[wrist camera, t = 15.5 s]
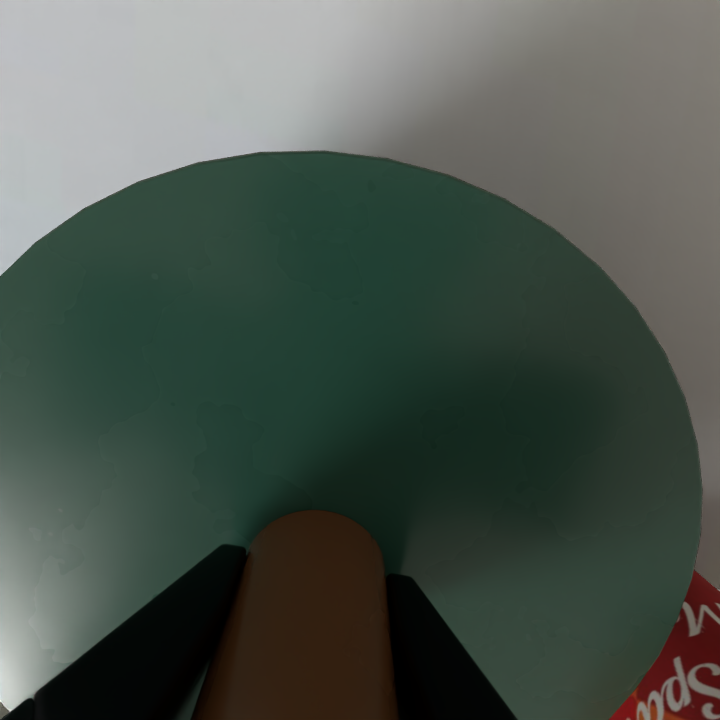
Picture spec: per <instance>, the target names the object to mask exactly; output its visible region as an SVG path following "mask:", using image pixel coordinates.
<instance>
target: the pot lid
mask: <svg viewBox="0 0 720 720" xmlns="http://www.w3.org/2000/svg"><path fill="white" fill-rule="evenodd" d="M702 495H703V488H702V479H701V470H700V461H699V451H698V443H697V440H696V436H695V432H694V429H693V425H692V421H691V417H690V414H689V410H688V406H687V403H686V399H685V396H684V394H683V392H682V390H681V387H680V385H679V383H678V381H677V378H676V376H675V374H674V372H673V369H672V367H671V365H670V363H669V360H668V358H667V356H666V354H665V352H664V350H663V348H662V347H661V345H660V344H659V342H658V341H657V339H656V338H655V336H654V334H653V333H652V331H651V330H650V328H649V327H648V325H647V324H646V322H645V321H644V319H643V317H642V316H641V314H640V313H639V311H638V310H637V308H636V307H635V306H634V304H633V303H632V302H631V301H630V300H629V299H628V298H627V297H626V295H625V294H624V293H623V292H622V291H621V290H620V289H619V288H618V286H617V285H616V284H615V283H614V282H613V281H612V280H611V279H610V277H609V276H608V275H607V274H606V273H605V272H604V271H603V270H602V268H601V267H600V266H599V265H598V264H596V263H595V262H594V261H593V260H592V259H590V258H589V257H588V256H587V255H586V254H584V253H583V252H582V251H581V250H580V249H578V248H577V247H576V246H575V245H574V244H572V243H571V242H570V241H569V240H568V239H566V238H565V237H564V236H563V235H562V234H560V233H559V232H558V231H557V230H556V229H554V228H552V227H551V226H549V225H547V224H546V223H544V222H542V221H541V220H539V219H538V218H536V217H534V216H533V215H531V214H529V213H528V212H526V211H524V210H523V209H521V208H519V207H518V206H516V205H515V204H513V203H511V202H510V201H508V200H506V199H505V198H502V197H500V196H498V195H495V194H493V193H491V192H488V191H486V190H484V189H481V188H479V187H477V186H474V185H472V184H470V183H467V182H465V181H463V180H460V179H458V178H456V177H453V176H451V175H448V174H445V173H441V172H437V171H434V170H430V169H426V168H422V167H419V166H415V165H411V164H407V163H404V162H400V161H396V160H392V159H389V158H382V157H373V156H365V155H357V154H348V153H340V152H332V151H283V152H257V153H251V154H245V155H239V156H233V157H227V158H221V159H215V160H209V161H203V162H197V163H194V164H191V165H188V166H185V167H182V168H179V169H176V170H172V171H169V172H166V173H163V174H160V175H157V176H154V177H151V178H148V179H144V180H141V181H138V182H136V183H134V184H132V185H130V186H128V187H126V188H124V189H122V190H120V191H118V192H116V193H114V194H112V195H110V196H108V197H106V198H104V199H102V200H100V201H98V202H96V203H94V204H92V205H90V206H88V207H86V208H84V209H82V210H81V211H79V212H78V213H77V214H75V215H74V216H72V217H71V218H69V219H68V220H67V221H65V222H64V223H62V224H61V225H59V226H58V227H57V228H55V229H54V230H52V231H51V232H49V233H48V234H47V235H45V236H44V237H42V238H41V239H39V240H38V241H37V242H35V243H34V244H33V245H32V246H31V247H30V248H29V249H28V250H27V251H26V252H25V253H24V254H23V255H22V256H21V257H20V258H19V259H18V260H17V261H16V262H15V263H14V264H13V265H12V266H11V267H9V268H8V269H7V270H6V271H5V272H4V273H3V274H2V275H1V276H0V702H1V703H2V704H3V705H4V706H5V707H6V709H7V710H8V711H9V712H11V711H12V710H13V709H14V708H16V707H17V706H18V705H19V704H21V703H22V702H23V701H24V700H26V699H27V698H32V699H33V696H34V693H35V692H36V691H37V690H39V689H40V688H41V687H42V686H44V685H45V684H46V683H47V682H49V681H50V680H51V679H53V678H54V677H55V676H56V675H58V674H59V673H60V672H61V671H63V670H64V669H65V668H66V667H68V666H69V665H70V664H71V663H73V662H74V661H75V660H76V659H78V658H79V657H80V656H81V655H83V654H84V653H85V652H86V651H88V650H89V649H90V648H91V647H93V646H94V645H95V644H97V643H98V642H99V641H100V640H102V639H103V638H104V637H105V636H107V635H108V634H109V633H110V632H112V631H113V630H114V629H115V628H117V627H118V626H119V625H120V624H122V623H123V622H124V621H125V620H127V619H128V618H129V617H130V616H132V615H133V614H134V613H136V612H137V611H138V610H139V609H141V608H142V607H143V606H144V605H146V604H147V603H148V602H149V601H151V600H152V599H153V598H154V597H156V596H157V595H158V594H159V593H161V592H162V591H163V590H164V589H166V588H167V587H168V586H169V585H171V584H172V583H173V582H174V581H176V580H177V579H178V578H180V577H181V576H182V575H183V574H185V573H186V572H187V571H188V570H190V569H191V568H192V567H193V566H195V565H196V564H197V563H198V562H200V561H201V560H202V559H203V558H205V557H206V556H207V555H208V554H210V553H211V552H212V551H213V550H215V549H216V548H217V547H219V546H220V545H221V544H232V545H237V546H243V547H245V548H246V551H247V552H246V558H245V561H244V564H243V567H242V570H241V573H240V576H239V579H238V582H237V585H236V588H235V591H234V594H233V596H232V599H231V602H230V605H229V608H228V611H227V614H226V617H225V620H224V623H223V626H222V628H221V631H220V634H219V637H218V640H217V643H216V646H215V649H214V652H213V654H212V657H211V660H210V663H209V666H208V669H207V672H206V675H205V678H204V681H203V684H202V687H201V690H200V692H199V695H198V698H197V701H196V704H195V707H194V710H193V713H192V716H191V719H190V720H399V714H398V703H397V693H396V682H395V672H394V661H393V650H392V640H391V629H390V619H389V608H388V598H387V587H386V577H387V576H388V574H390V573H395V574H401V575H407V576H410V577H412V578H413V579H414V580H415V581H416V583H417V584H418V586H419V587H420V588H421V590H422V591H423V592H424V594H425V595H426V596H427V598H428V599H429V600H430V602H431V603H432V604H433V606H434V607H435V608H436V610H437V611H438V612H439V614H440V615H441V617H442V618H443V619H444V621H445V622H446V623H447V625H448V626H449V627H450V629H451V630H452V631H453V633H454V634H455V635H456V637H457V638H458V639H459V641H460V642H461V644H462V645H463V646H464V648H465V649H466V650H467V652H468V653H469V654H470V656H471V657H472V658H473V660H474V661H475V662H476V664H477V665H478V666H479V668H480V669H481V670H482V672H483V673H484V675H485V676H486V677H487V679H488V680H489V681H490V683H491V684H492V685H493V687H494V688H495V689H496V691H497V692H498V693H499V695H500V696H501V697H502V699H503V700H504V701H505V703H506V704H507V706H508V707H509V708H510V710H511V711H512V712H513V714H514V715H515V716H516V718H517V719H518V720H609V719H610V718H611V717H612V716H613V715H614V714H615V712H616V711H617V710H618V709H619V708H620V707H621V706H622V705H623V703H624V702H625V701H626V700H627V699H628V698H629V697H630V696H631V694H632V693H633V692H634V691H635V690H636V688H637V687H638V686H639V684H640V683H641V681H642V680H643V678H644V677H645V675H646V674H647V672H648V671H649V670H650V668H651V667H652V665H653V664H654V662H655V661H656V659H657V658H658V656H659V655H660V653H661V651H662V649H663V647H664V645H665V643H666V641H667V639H668V637H669V635H670V633H671V631H672V629H673V627H674V625H675V624H676V622H677V620H678V617H679V615H680V612H681V609H682V606H683V603H684V600H685V597H686V595H687V592H688V589H689V586H690V583H691V580H692V577H693V572H694V567H695V562H696V557H697V551H698V546H699V541H700V536H701V517H702Z"/></svg>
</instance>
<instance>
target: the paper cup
mask: <svg viewBox="0 0 720 720" xmlns="http://www.w3.org/2000/svg"><path fill="white" fill-rule="evenodd" d="M609 720H720V592H719V591H718V590H717V589H716V588H715V587H714V586H712V585H711V584H710V583H709V582H708V581H707V580H705V579H704V578H703V577H702V576H701V575H700V574H698V573H697V572H696V571H695V570H694V572H693V577H692V580H691V583H690V586H689V589H688V592H687V595H686V597H685V600H684V603H683V606H682V609H681V612H680V615H679V617H678V620H677V622H676V624H675V625H674V627H673V629H672V631H671V633H670V635H669V637H668V639H667V641H666V643H665V645H664V647H663V649H662V651H661V653H660V655H659V656H658V658H657V659H656V661H655V662H654V664H653V665H652V667H651V668H650V670H649V671H648V672H647V674H646V675H645V677H644V678H643V680H642V681H641V683H640V684H639V686H638V687H637V688H636V690H635V691H634V692H633V693H632V694H631V696H630V697H629V698H628V699H627V700H626V701H625V702H624V703H623V705H622V706H621V707H620V708H619V709H618V710H617V711H616V712H615V714H614V715H613V716H612V717H611V718H610V719H609Z"/></svg>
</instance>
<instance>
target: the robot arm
mask: <svg viewBox="0 0 720 720" xmlns="http://www.w3.org/2000/svg"><path fill="white" fill-rule="evenodd" d="M246 552H247V551H246V548H245V547H243V546H237V545H232V544H221V545H220V546H219V547H217V548H216V549H215V550H213V551H212V552H211V553H210V554H208V555H207V556H206V557H205V558H203V559H202V560H201V561H200V562H198V563H197V564H196V565H195V566H193V567H192V568H191V569H190V570H188V571H187V572H186V573H185V574H183V575H182V576H181V577H180V578H178V579H177V580H176V581H174V582H173V583H172V584H171V585H169V586H168V587H167V588H166V589H164V590H163V591H162V592H161V593H159V594H158V595H157V596H156V597H154V598H153V599H152V600H151V601H149V602H148V603H147V604H146V605H144V606H143V607H142V608H141V609H139V610H138V611H137V612H136V613H134V614H133V615H132V616H130V617H129V618H128V619H127V620H125V621H124V622H123V623H122V624H120V625H119V626H118V627H117V628H115V629H114V630H113V631H112V632H110V633H109V634H108V635H107V636H105V637H104V638H103V639H102V640H100V641H99V642H98V643H97V644H95V645H94V646H93V647H91V648H90V649H89V650H88V651H86V652H85V653H84V654H83V655H81V656H80V657H79V658H78V659H76V660H75V661H74V662H73V663H71V664H70V665H69V666H68V667H66V668H65V669H64V670H63V671H61V672H60V673H59V674H58V675H56V676H55V677H54V678H53V679H51V680H50V681H49V682H47V683H46V684H45V685H44V686H42V687H41V688H40V689H39V690H37V691H36V692H35V693H34V696H33V699H32V698H27V699H26V700H24V701H23V702H22V703H21V704H19V705H18V706H17V707H16V708H14V709H13V710H12V711H11V712H9V713H8V714H7V715H6V716H4V717H3V718H2V719H1V720H190V719H191V716H192V713H193V710H194V707H195V704H196V701H197V698H198V695H199V692H200V690H201V687H202V684H203V681H204V678H205V675H206V672H207V669H208V666H209V663H210V660H211V657H212V654H213V652H214V649H215V646H216V643H217V640H218V637H219V634H220V631H221V628H222V626H223V623H224V620H225V617H226V614H227V611H228V608H229V605H230V602H231V599H232V596H233V594H234V591H235V588H236V585H237V582H238V579H239V576H240V573H241V570H242V567H243V564H244V561H245V558H246ZM386 587H387V598H388V608H389V619H390V629H391V640H392V650H393V661H394V672H395V682H396V693H397V703H398V714H399V720H518V719H517V718H516V716H515V715H514V714H513V712H512V711H511V710H510V708H509V707H508V706H507V704H506V703H505V701H504V700H503V699H502V697H501V696H500V695H499V693H498V692H497V691H496V689H495V688H494V687H493V685H492V684H491V683H490V681H489V680H488V679H487V677H486V676H485V675H484V673H483V672H482V670H481V669H480V668H479V666H478V665H477V664H476V662H475V661H474V660H473V658H472V657H471V656H470V654H469V653H468V652H467V650H466V649H465V648H464V646H463V645H462V644H461V642H460V641H459V639H458V638H457V637H456V635H455V634H454V633H453V631H452V630H451V629H450V627H449V626H448V625H447V623H446V622H445V621H444V619H443V618H442V617H441V615H440V614H439V612H438V611H437V610H436V608H435V607H434V606H433V604H432V603H431V602H430V600H429V599H428V598H427V596H426V595H425V594H424V592H423V591H422V590H421V588H420V587H419V586H418V584H417V583H416V581H415V580H414V579H413V578H412V577H410V576H407V575H401V574H395V573H390V574H388V576H387V577H386Z"/></svg>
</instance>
